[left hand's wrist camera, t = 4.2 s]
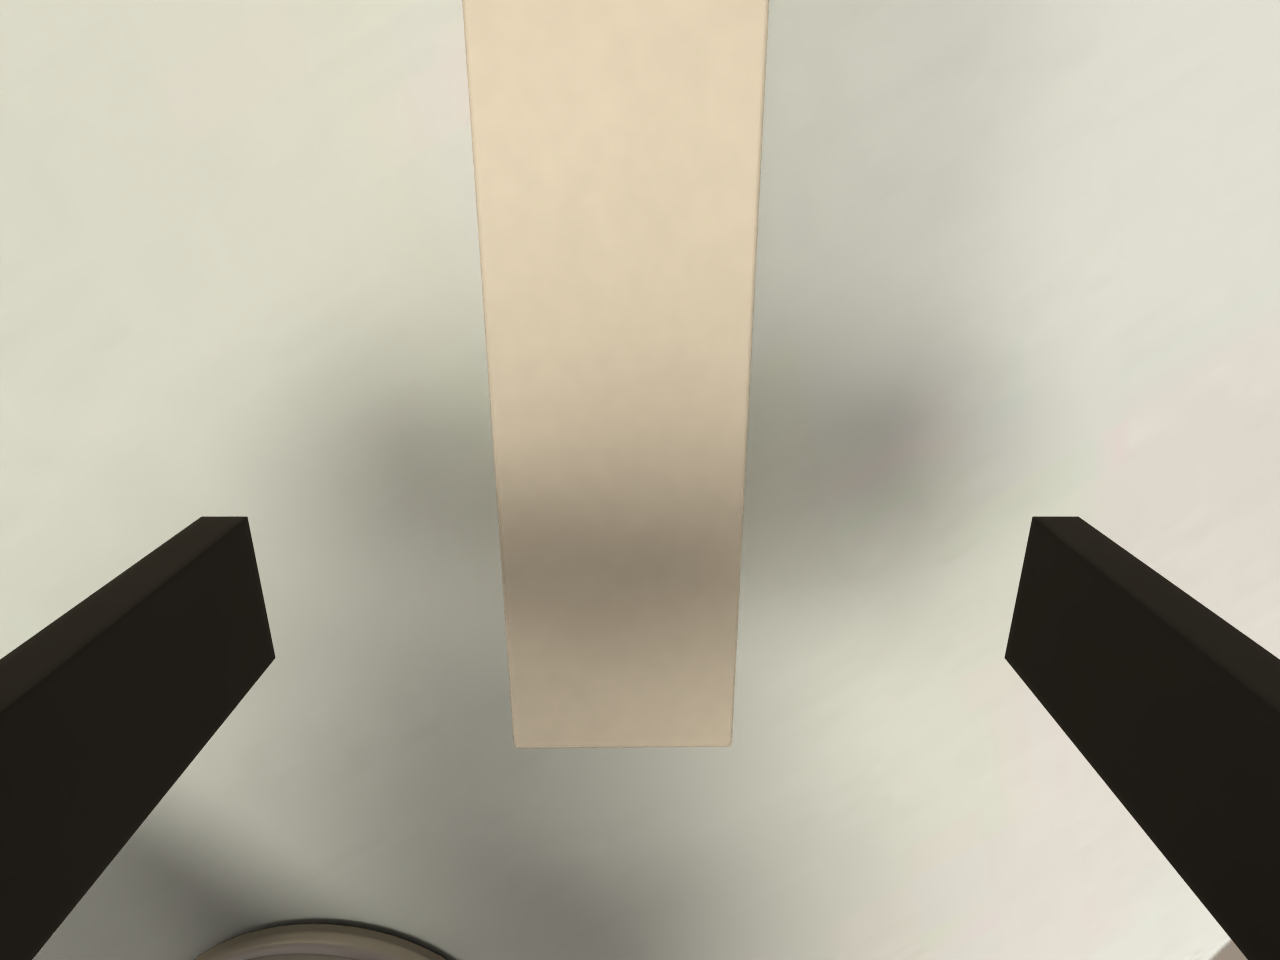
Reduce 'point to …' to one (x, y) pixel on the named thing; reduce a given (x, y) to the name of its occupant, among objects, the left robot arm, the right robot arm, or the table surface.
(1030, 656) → the left robot arm
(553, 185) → the bar
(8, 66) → the table surface
